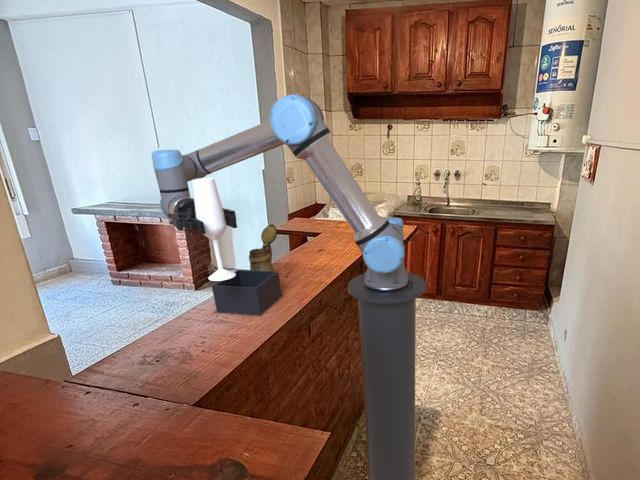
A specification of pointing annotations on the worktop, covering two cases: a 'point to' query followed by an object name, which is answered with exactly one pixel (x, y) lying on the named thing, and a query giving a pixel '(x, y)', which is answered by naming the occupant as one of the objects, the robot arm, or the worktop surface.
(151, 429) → the worktop surface
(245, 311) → the dark grey open box
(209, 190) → the champagne flute
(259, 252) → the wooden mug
